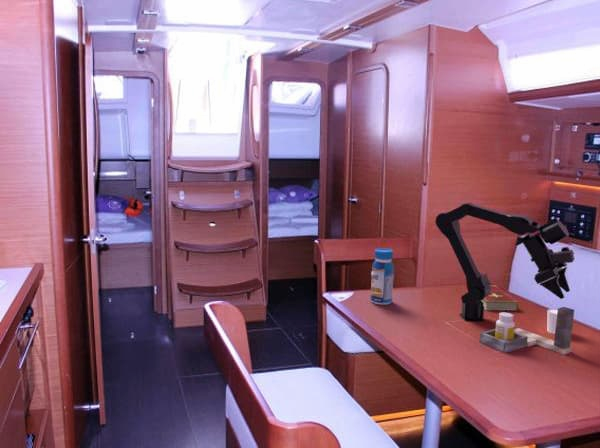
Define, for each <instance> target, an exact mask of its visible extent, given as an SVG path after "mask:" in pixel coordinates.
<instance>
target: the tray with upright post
mask: <svg viewBox="0 0 600 448" xmlns="http://www.w3.org/2000/svg"><path fill="white" fill-rule="evenodd" d="M557 309H558V312H557V321H556V330H555V334H554V340H553V339H550V338H547V337H545V336H542V335H539V334H537V333H533V332H531V331H528V330H524V329H523V328H519V327H517V328H515V332H514V339H513V340H509V341H504V340H501V339H499V338H496V337H495V331H496V328H493V329H489V330H486V331H482V332H480V334H479V335H480V336H479V343H481V344H483V345H486V346H488V347H491V348H492V349H496V350H497V351H500V352H502V353H505V354H507V353H510V352H511V353H512V352H514V351H517V350H520V349H523V348H526V347H528V348H529V347H532V346H534V345H538V346H540V347H542V348H545V349H547V350H550V351H553V352H556V353H558V354H560V355H567V354H569V353H572V350H573V347H572V346H571V343H572V333H573V327H574V326H573V325H574V324H573V323H574V317H575V316H574V315H575V309H572V308H570V307H567V306H562V307H558V308H557Z"/></svg>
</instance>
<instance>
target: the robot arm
mask: <svg viewBox="0 0 600 448" xmlns="http://www.w3.org/2000/svg"><path fill="white" fill-rule="evenodd" d="M467 216H470V217H472V218H476V219H479V220H483V221H486V222H489V223H492V224H496V225H500V226H502V227H503V228H505V230H507V231H509V232H510V233H513V234H516V235H519V236H518V237H517V238H516V242H515V246H519V245H521V244H522V245H523V246H524V247H525V250H526V251H527V253H528V254H529V256H530V261H531V263H533V262H534V264H535V266H536V268H537V269H538V270H537V273H536V274H535V275H534V281H535V282H536V284H537V285H539V286H542V287H543V288H544V289H546V290H547V291H549V292H550V293H552V295H553V294H554V296H556V297H558V298H559V299H560V300H562V299H564V298H565V295H564V292H563V291H565V292H566V293H569V292H570V291H571V289H570V286H569V283H568V280H567V277H566V271H567V269H568V264H570V263H574V261H575V255H574V254H575V252H574V251H573V249H570V247H569V246H564V247H562V248H561V250H560V251H556V252H555V251H554V250H553V249H551V248H548V245H546V244H550V245H553V244H556V243H558V242H560V241H562V240H564V239H566V238H569V236H570V233H569V231H568V229H567V227H566V225H564V224H563V223H562V222H561V221H560V220H559V217H554V218H553V219H551V220H550V221H548V222H547V223H545V224H542V223H539V222H536V221H534V220H533V219H532V217H531V216H529V215H525V214H520V213H518V214H517V213H505V212H501V211H498V210H495V209H491V208H487V207H485V206H480V205H477V204H475V203H472V202H465V203H463V204H461V205H460V206H458V207H456V208H455V209H452V210H451V211H450V210H449V211H445V212H442V213H438V215H437V216H436V218H435V221H434V222H435V225H436V227H437V229H438V230H439V231H440V232H441V234H442V235H443V236H444V237H445V238H446V239H447V241H449V244H450V246H451V248H452V250H453V252H454V255H455V257H456V259H457V261H458V263H459V265H460V267H461V270H462V272H463V274H464V277H465V284H466V285H465V286H466V290H467V292H466V293H464V294H463V295H461V296H460V298H461V302H462V305H461V313H459V317H461V318H462V319H463V320H464V321H465V322H485V319H484V317H485V316H484V315H485V309H484V306H483V302H482V300H483V299H484V298H485V297H486V296H487V295H489V293H490V291H491V286H492V282H490V280H489V278H488V275H487V273H484V274H482V273H481V272H480V271H479V270H478V268H477V265H476V264H475V261H474V259H473V257H472V256H471V252H470V251H469V249H468V247H467V245H466V242H465V241H464V239H463V236H462V233H461V226H460V221H461V220H462V219H464V218H465V217H467ZM538 231H539V232H538ZM536 232H537V233H536ZM534 233H535V234H534ZM525 234H526V235H525ZM520 235H521V236H520ZM523 235H524V236H523ZM490 285H491V286H490ZM562 289H563V290H562Z"/></svg>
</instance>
